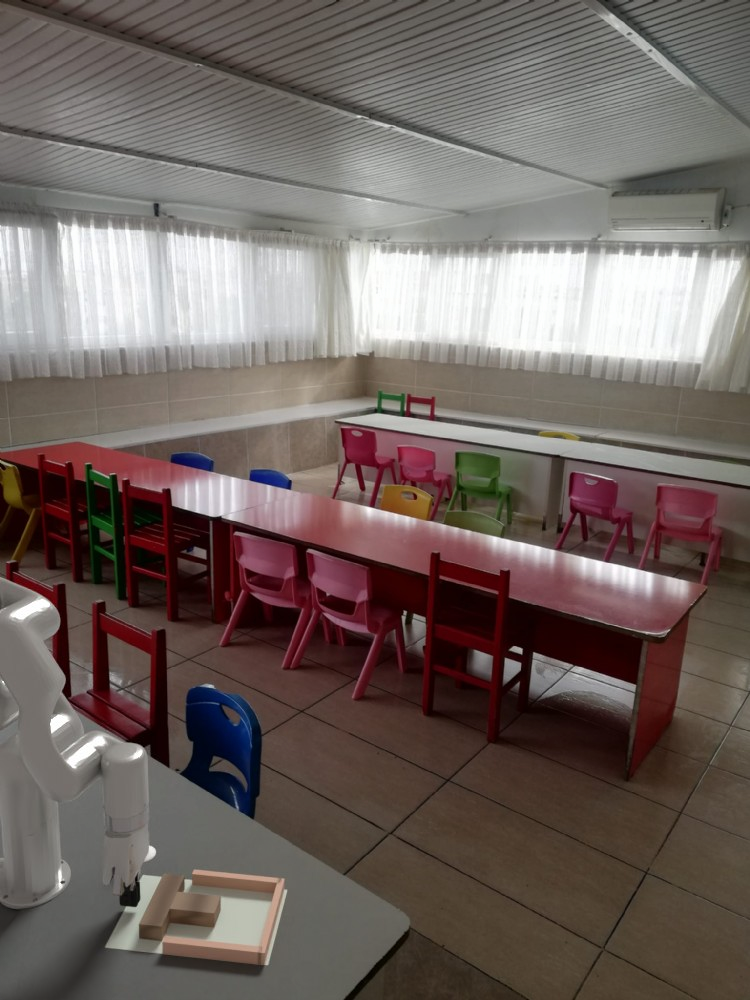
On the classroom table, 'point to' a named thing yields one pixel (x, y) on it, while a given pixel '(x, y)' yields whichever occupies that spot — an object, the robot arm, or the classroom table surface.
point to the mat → (234, 925)
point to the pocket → (228, 949)
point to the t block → (177, 908)
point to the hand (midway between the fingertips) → (130, 903)
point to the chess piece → (150, 854)
